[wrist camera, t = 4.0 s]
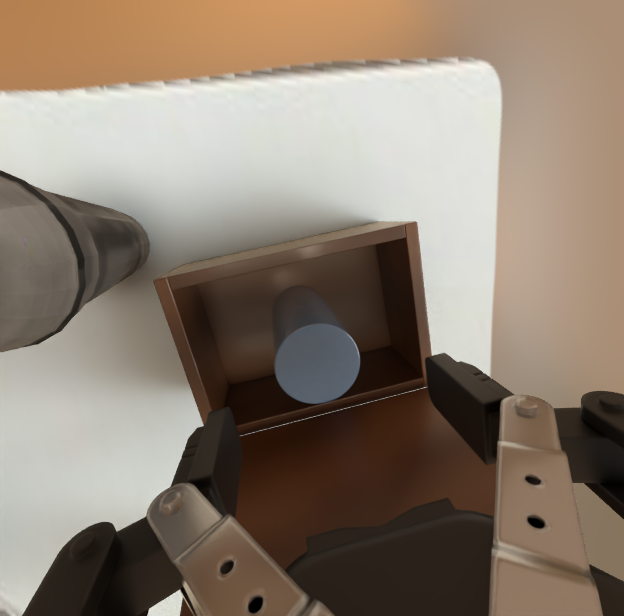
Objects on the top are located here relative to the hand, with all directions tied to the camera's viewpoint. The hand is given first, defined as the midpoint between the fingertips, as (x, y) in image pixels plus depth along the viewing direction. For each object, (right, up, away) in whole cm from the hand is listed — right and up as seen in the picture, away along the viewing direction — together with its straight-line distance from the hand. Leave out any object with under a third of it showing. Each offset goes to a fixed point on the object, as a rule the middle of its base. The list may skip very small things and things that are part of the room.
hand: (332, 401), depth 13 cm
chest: (-2, +4, +14) cm, 14 cm away
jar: (-2, +3, +13) cm, 14 cm away
